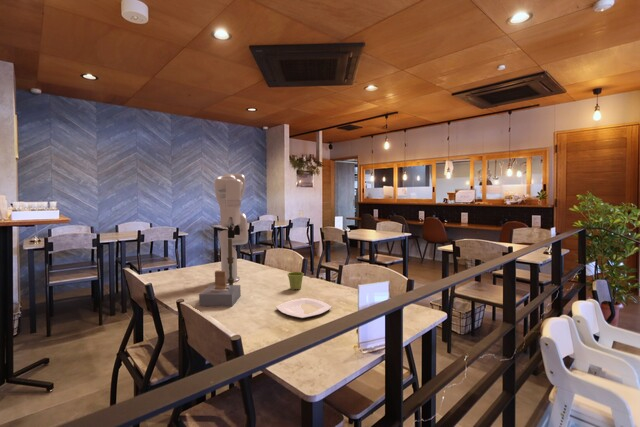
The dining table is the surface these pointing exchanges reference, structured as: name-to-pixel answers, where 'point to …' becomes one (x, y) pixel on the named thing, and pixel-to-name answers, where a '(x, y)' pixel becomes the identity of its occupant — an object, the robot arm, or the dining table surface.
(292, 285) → the plant pot
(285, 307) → the plate
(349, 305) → the dining table surface
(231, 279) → the candlestick holder
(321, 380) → the dining table surface
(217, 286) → the tan upright bar
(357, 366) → the dining table surface
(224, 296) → the grey slotted base block
